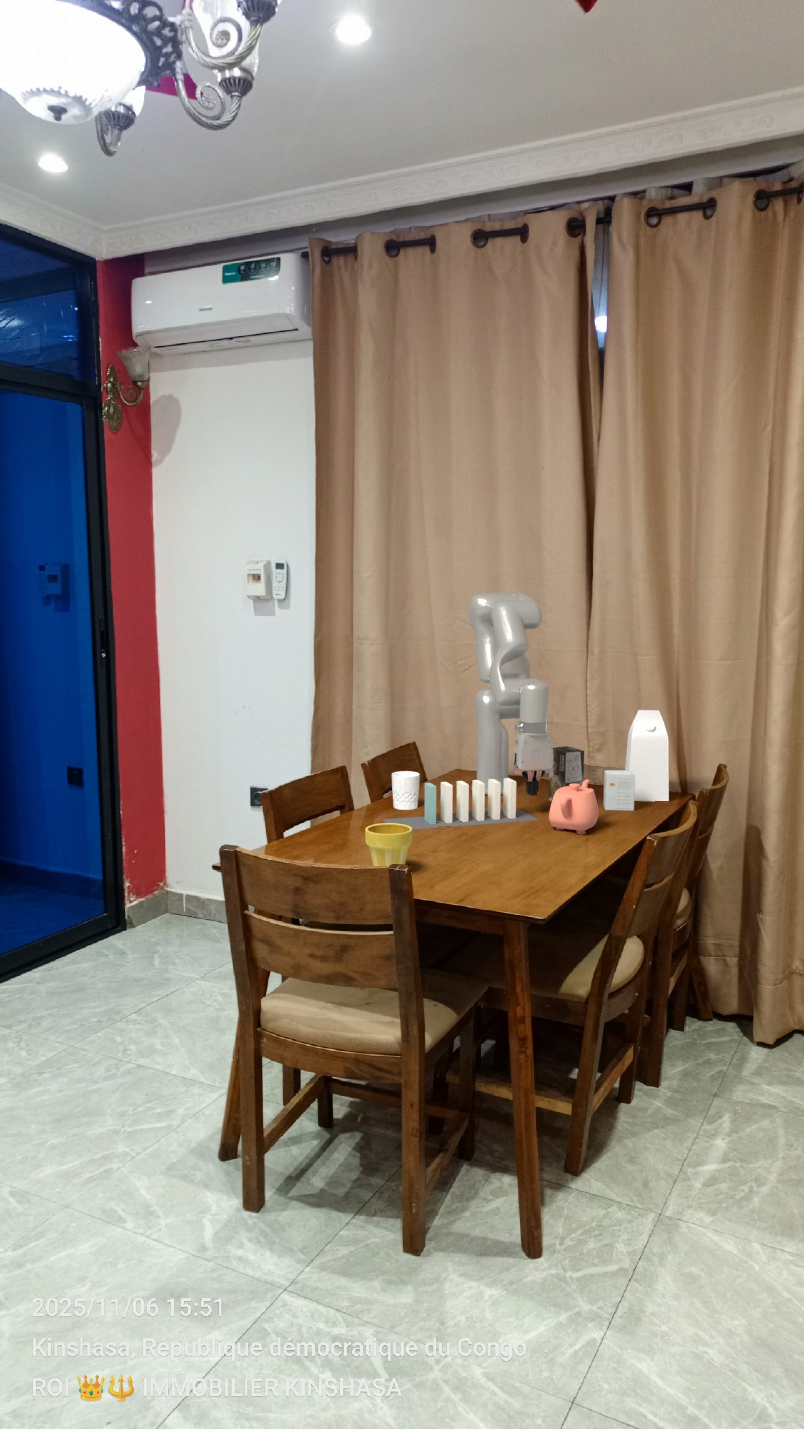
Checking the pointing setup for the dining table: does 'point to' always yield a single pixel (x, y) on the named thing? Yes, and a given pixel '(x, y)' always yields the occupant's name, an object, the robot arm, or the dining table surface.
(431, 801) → the domino
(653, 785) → the milk
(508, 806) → the domino
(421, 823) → the mat
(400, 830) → the plant pot
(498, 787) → the domino
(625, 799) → the small box
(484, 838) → the dining table surface
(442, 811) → the domino
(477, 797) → the domino
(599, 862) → the dining table surface
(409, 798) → the white cup
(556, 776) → the coffee box
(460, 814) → the domino
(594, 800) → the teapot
